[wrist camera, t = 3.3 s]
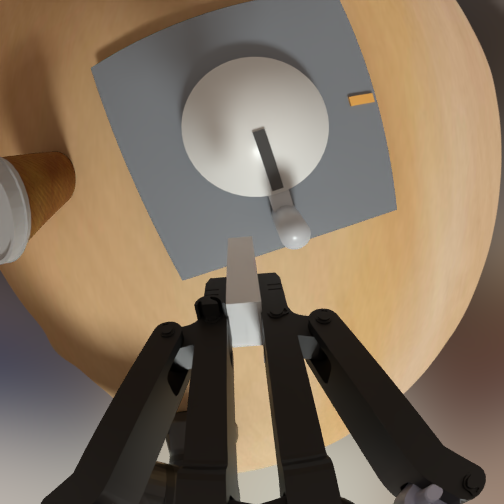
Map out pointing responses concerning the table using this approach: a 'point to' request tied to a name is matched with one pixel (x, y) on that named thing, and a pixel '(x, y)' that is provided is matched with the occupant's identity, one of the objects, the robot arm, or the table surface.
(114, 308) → the table surface
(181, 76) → the panel
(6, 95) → the table surface
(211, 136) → the dial
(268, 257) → the table surface
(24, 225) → the disposable coffee cup
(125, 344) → the table surface
